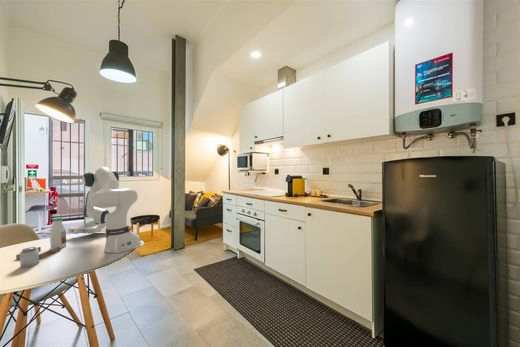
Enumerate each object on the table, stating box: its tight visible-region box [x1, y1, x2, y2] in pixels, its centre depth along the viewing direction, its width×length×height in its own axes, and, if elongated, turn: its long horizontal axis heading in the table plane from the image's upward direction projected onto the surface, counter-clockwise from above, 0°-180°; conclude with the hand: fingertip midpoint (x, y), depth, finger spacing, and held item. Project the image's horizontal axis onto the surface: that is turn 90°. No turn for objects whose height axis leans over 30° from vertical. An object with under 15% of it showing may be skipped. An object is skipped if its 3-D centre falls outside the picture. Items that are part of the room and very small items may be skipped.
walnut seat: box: [15, 246, 61, 260], centre depth 130 cm, size 12×14×2 cm
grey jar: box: [19, 246, 40, 269], centre depth 117 cm, size 7×7×9 cm
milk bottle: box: [49, 216, 67, 250], centre depth 142 cm, size 8×8×20 cm
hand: (74, 232), depth 155 cm, fingers closed
